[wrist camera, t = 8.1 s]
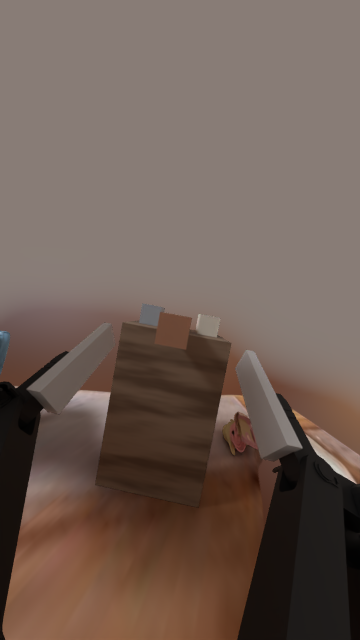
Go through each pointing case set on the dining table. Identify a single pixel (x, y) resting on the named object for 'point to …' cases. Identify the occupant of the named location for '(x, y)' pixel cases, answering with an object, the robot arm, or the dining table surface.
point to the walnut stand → (162, 414)
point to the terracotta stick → (173, 330)
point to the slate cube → (150, 314)
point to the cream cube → (207, 325)
